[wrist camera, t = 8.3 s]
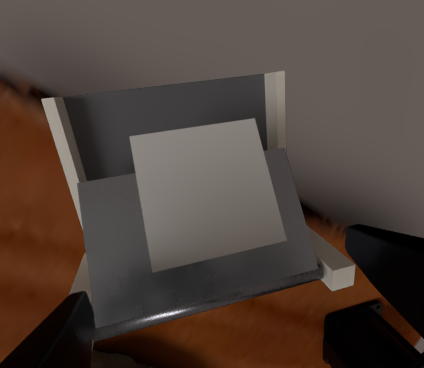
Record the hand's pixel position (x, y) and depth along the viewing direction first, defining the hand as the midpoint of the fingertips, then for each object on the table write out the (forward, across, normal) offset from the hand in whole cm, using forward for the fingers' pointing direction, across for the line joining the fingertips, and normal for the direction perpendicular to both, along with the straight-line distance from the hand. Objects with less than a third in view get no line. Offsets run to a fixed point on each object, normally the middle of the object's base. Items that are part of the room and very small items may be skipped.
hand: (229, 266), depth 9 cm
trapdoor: (+6, 0, +2) cm, 7 cm away
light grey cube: (+6, 0, 0) cm, 6 cm away
